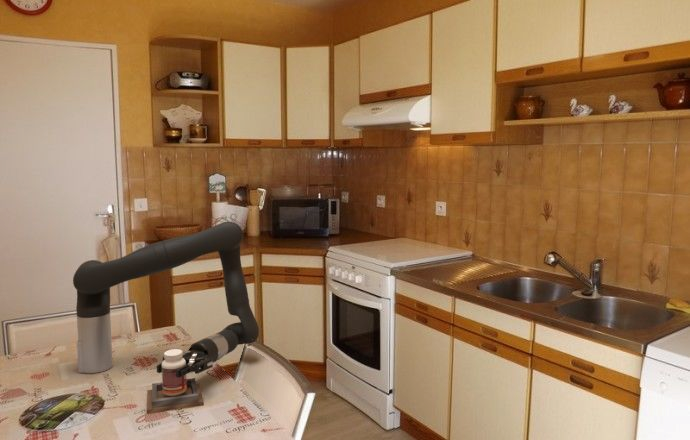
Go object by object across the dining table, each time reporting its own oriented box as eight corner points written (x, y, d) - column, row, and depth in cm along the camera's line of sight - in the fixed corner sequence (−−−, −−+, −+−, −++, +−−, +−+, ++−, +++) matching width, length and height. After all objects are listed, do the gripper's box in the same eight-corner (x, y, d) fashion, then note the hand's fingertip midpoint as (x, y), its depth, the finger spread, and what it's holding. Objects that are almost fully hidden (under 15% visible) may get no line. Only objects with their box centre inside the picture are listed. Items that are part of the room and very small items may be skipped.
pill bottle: (189, 393, 139) (188, 353, 138) (166, 399, 136) (164, 358, 135) (183, 384, 144) (181, 346, 143) (160, 390, 141) (158, 351, 140)
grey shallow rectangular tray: (146, 413, 132) (146, 403, 132) (147, 393, 144) (147, 383, 143) (203, 405, 137) (203, 395, 137) (199, 386, 148) (199, 376, 148)
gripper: (189, 334, 155) (146, 353, 140) (228, 341, 149) (188, 362, 134) (190, 358, 156) (147, 380, 141) (229, 366, 150) (189, 390, 135)
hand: (167, 371), depth 137 cm, fingers closed on pill bottle, 6 cm apart
